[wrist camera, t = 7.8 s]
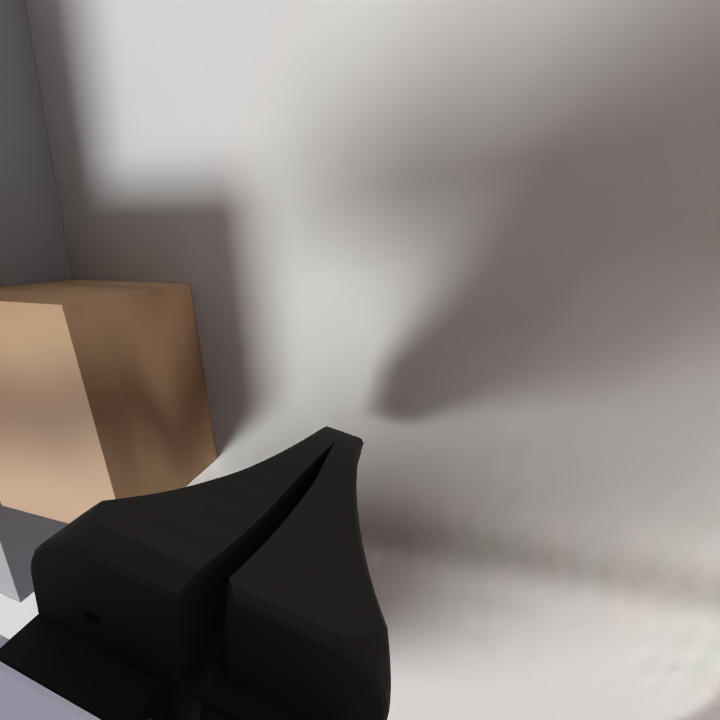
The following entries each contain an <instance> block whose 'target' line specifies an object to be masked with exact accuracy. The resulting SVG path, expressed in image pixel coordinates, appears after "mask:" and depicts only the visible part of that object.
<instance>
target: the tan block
mask: <svg viewBox="0 0 720 720" xmlns="http://www.w3.org/2000/svg"><path fill="white" fill-rule="evenodd" d="M216 459H217V454H216V447H215V441H214V435H213V428H212V422H211V416H210V409H209V403H208V396H207V390H206V384H205V377H204V371H203V364H202V358H201V352H200V345H199V339H198V332H197V326H196V320H195V313H194V307H193V301H192V294H191V288H190V284H185V283H159V282H132V281H105V280H79V279H72V280H62V281H53V282H43V283H34V284H24V285H15V286H5V287H0V502H1V504H2V506H6V507H10V508H13V509H17V510H21V511H24V512H28V513H32V514H35V515H39V516H43V517H46V518H50V519H54V520H57V521H61V522H65V523H71V522H72V521H73V520H75V519H76V518H78V517H79V516H80V515H82V514H83V513H84V512H86V511H87V510H89V509H90V508H92V507H93V506H95V505H96V504H98V503H99V502H101V501H104V500H113V499H120V498H128V497H135V496H142V495H149V494H155V493H160V492H165V491H170V490H175V489H180V488H184V487H186V486H187V485H188V484H189V483H190V482H191V481H192V480H194V479H195V478H196V477H197V476H198V475H199V474H200V473H201V472H203V471H204V470H205V469H206V468H207V467H208V466H209V465H210V464H212V463H213V462H214V461H215V460H216Z"/></svg>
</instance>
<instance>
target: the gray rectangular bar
mask: <svg viewBox="0 0 720 720" xmlns="http://www.w3.org/2000/svg"><path fill="white" fill-rule="evenodd" d="M62 280H72V275H71V269H70V263H69V257H68V251H67V245H66V240H65V234H64V228H63V222H62V216H61V210H60V205H59V199H58V193H57V187H56V181H55V175H54V170H53V164H52V158H51V152H50V146H49V140H48V134H47V129H46V123H45V117H44V111H43V105H42V99H41V94H40V88H39V82H38V76H37V70H36V64H35V59H34V53H33V47H32V41H31V35H30V29H29V24H28V18H27V12H26V6H25V0H0V287H5V286H15V285H24V284H34V283H43V282H53V281H62ZM68 524H69V523H65V522H61V521H57V520H54V519H50V518H46V517H43V516H39V515H35V514H32V513H28V512H24V511H21V510H17V509H13V508H10V507H6V506H2V504H1V502H0V593H1V594H3V595H5V596H7V597H9V598H11V599H14V600H16V601H18V602H22V601H23V600H24V599H25V598H27V597H28V596H29V595H30V594H31V593H33V592H34V586H33V581H32V576H31V560H32V557H33V554H34V551H35V549H36V548H37V547H39V546H40V545H41V544H42V543H43V542H45V541H46V540H47V539H49V538H50V537H52V536H53V535H54V534H56V533H57V532H58V531H60V530H61V529H63V528H64V527H65V526H67V525H68Z"/></svg>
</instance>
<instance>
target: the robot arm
mask: <svg viewBox="0 0 720 720" xmlns="http://www.w3.org/2000/svg"><path fill="white" fill-rule="evenodd" d="M362 446H363V441H362V439H361V438H358V437H356V436H353V435H350V434H347V433H344V432H341V431H339V430H336V429H333V428H330V427H324V428H322V429H321V430H319V431H317V432H316V433H314V434H313V435H311V436H309V437H308V438H306V439H304V440H303V441H301V442H299V443H297V444H296V445H294V446H292V447H290V448H288V449H287V450H285V451H283V452H281V453H279V454H277V455H275V456H273V457H271V458H269V459H267V460H265V461H263V462H260V463H258V464H256V465H254V466H251V467H249V468H247V469H244V470H241V471H239V472H236V473H233V474H230V475H227V476H224V477H221V478H217V479H214V480H210V481H207V482H204V483H200V484H197V485H193V486H189V487H184V488H180V489H175V490H170V491H165V492H160V493H155V494H149V495H142V496H135V497H128V498H120V499H113V500H104V501H101V502H99V503H98V504H96V505H95V506H93V507H92V508H90V509H89V510H87V511H86V512H84V513H83V514H82V515H80V516H79V517H78V518H76V519H75V520H73V521H72V522H71V523H69V524H68V525H67V526H65V527H64V528H63V529H61V530H60V531H58V532H57V533H56V534H54V535H53V536H52V537H50V538H49V539H47V540H46V541H45V542H43V543H42V544H41V545H40V546H39V547H37V548H36V549H35V551H34V554H33V557H32V560H31V576H32V581H33V586H34V591H35V596H36V601H37V606H38V612H39V614H38V615H37V616H36V617H35V618H34V619H32V620H31V621H30V622H29V623H28V624H27V625H26V626H25V627H23V628H22V629H21V630H20V631H19V632H18V633H17V634H16V635H14V636H13V637H12V638H11V639H10V640H9V639H7V638H5V637H3V636H2V635H0V720H387V717H388V713H389V707H390V692H391V671H390V653H389V641H388V629H387V626H386V623H385V620H384V618H383V615H382V612H381V609H380V606H379V603H378V600H377V597H376V595H375V591H374V588H373V584H372V581H371V578H370V574H369V570H368V566H367V562H366V558H365V553H364V549H363V545H362V539H361V533H360V527H359V519H358V510H357V494H356V478H357V465H358V461H359V457H360V454H361V450H362Z"/></svg>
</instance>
